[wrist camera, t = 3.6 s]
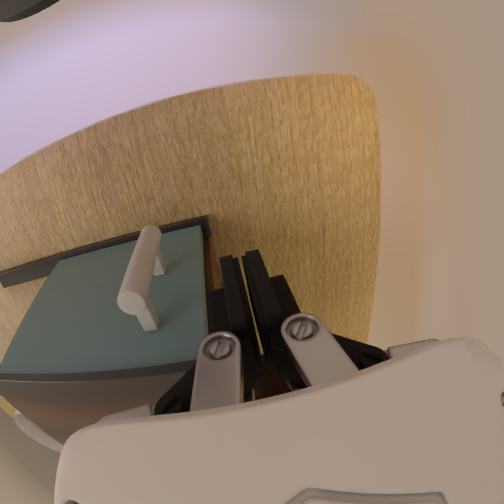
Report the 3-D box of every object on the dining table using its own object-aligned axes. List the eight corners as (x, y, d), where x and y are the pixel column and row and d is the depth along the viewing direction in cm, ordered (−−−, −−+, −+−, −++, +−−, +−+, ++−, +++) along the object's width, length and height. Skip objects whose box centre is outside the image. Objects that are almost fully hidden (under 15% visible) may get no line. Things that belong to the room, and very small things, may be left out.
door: (46, 232, 21) (-33, 339, 9) (191, 190, 22) (185, 307, 10) (63, 268, 23) (5, 383, 11) (202, 235, 24) (212, 371, 12)
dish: (16, 412, 37) (11, 429, 33) (22, 376, 31) (14, 399, 27) (98, 449, 47) (96, 466, 43) (131, 427, 41) (130, 449, 37)
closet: (-1, 272, 22) (-64, 371, 9) (207, 214, 24) (222, 365, 11) (51, 351, 29) (23, 449, 16) (234, 324, 31) (261, 455, 17)
